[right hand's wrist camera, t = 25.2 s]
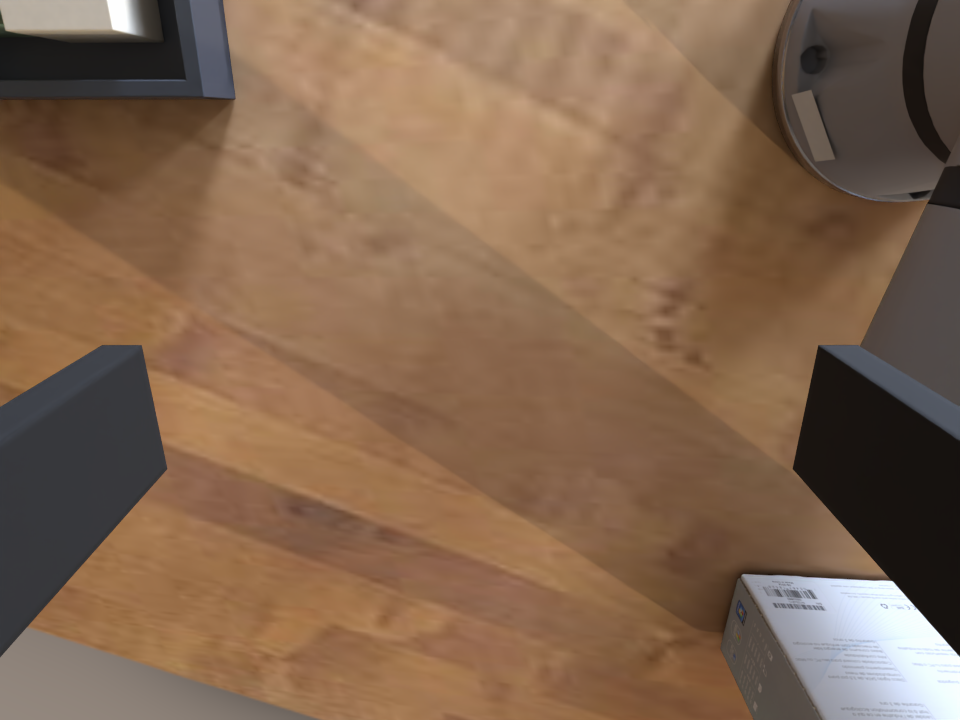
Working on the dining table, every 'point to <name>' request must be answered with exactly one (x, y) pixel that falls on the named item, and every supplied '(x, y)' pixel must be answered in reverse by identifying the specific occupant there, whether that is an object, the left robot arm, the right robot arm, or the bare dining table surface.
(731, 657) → the hard drive box
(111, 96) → the tray
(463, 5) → the dining table surface
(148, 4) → the cream block
